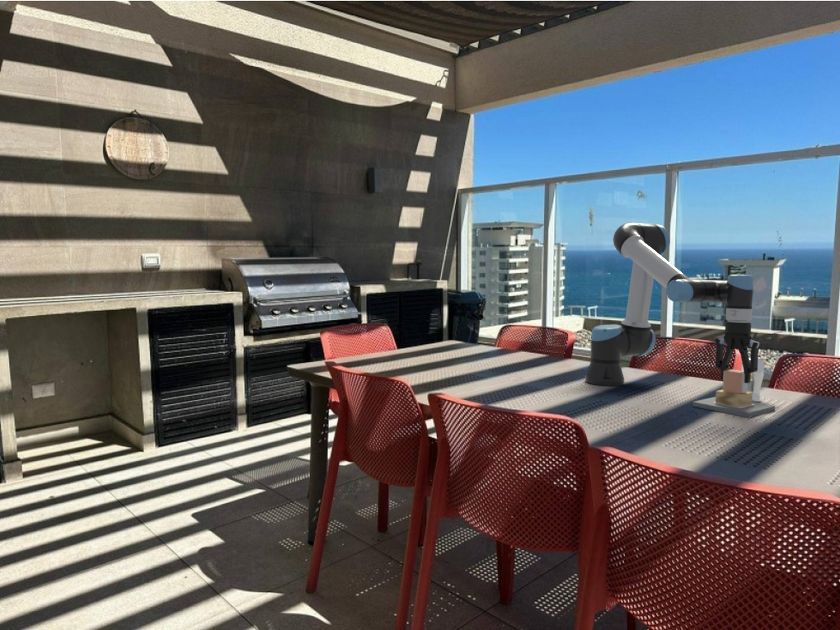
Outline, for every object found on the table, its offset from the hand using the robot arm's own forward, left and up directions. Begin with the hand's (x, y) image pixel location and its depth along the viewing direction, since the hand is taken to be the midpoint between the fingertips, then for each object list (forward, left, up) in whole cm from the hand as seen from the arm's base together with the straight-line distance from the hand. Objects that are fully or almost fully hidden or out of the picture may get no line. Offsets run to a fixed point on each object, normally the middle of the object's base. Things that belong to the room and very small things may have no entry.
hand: (734, 390), depth 189 cm
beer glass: (-3, +19, -6) cm, 20 cm away
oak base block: (0, 0, -4) cm, 4 cm away
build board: (0, 0, -6) cm, 6 cm away
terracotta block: (0, 0, 0) cm, 0 cm away
